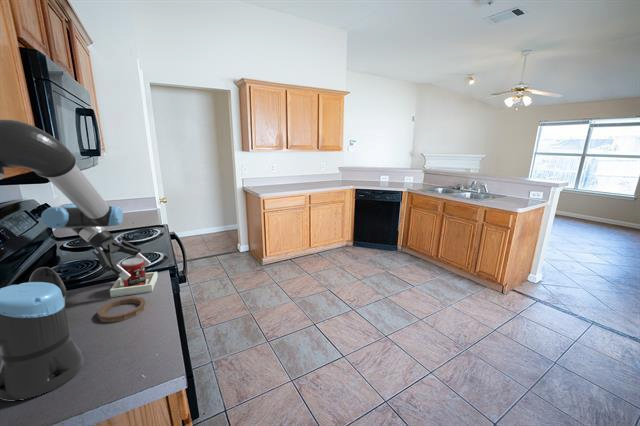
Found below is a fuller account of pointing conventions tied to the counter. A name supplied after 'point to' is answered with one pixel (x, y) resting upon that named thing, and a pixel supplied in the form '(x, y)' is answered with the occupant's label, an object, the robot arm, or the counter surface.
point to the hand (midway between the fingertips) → (139, 271)
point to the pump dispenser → (48, 278)
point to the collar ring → (121, 316)
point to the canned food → (134, 272)
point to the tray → (120, 290)
